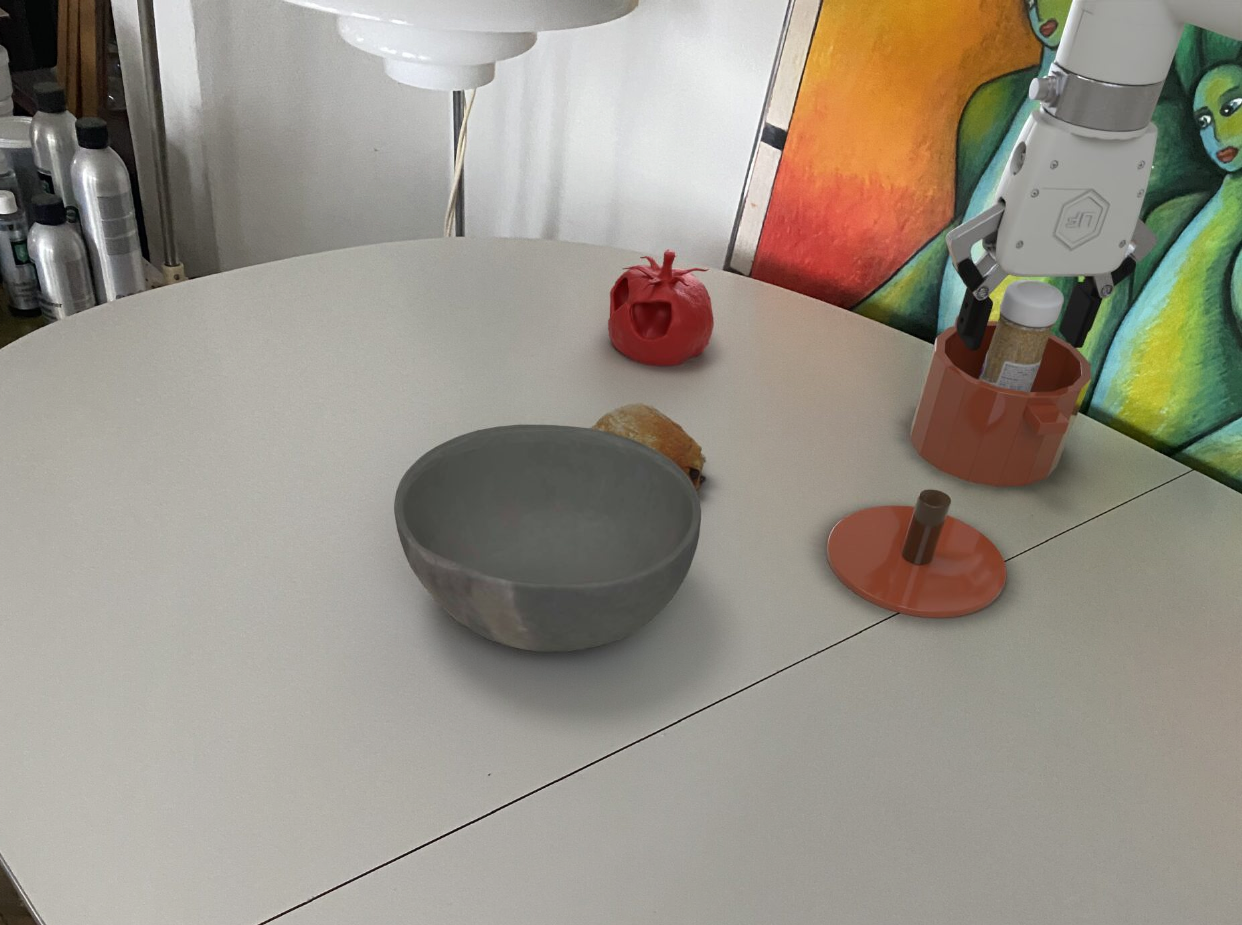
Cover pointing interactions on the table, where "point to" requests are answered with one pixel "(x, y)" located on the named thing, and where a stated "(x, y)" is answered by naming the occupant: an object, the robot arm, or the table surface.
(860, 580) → the lid
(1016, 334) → the sprinkles bottle
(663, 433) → the bread roll
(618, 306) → the red tomato
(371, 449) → the table surface
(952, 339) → the pot
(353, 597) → the table surface
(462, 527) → the bowl
